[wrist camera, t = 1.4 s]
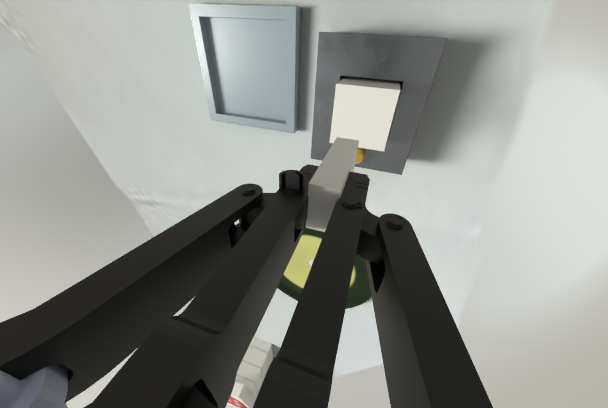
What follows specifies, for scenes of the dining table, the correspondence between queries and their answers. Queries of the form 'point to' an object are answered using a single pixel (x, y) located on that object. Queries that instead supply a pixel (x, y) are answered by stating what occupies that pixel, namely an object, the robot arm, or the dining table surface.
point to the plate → (300, 268)
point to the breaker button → (364, 111)
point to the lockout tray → (249, 63)
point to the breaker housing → (378, 65)
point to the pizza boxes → (251, 374)
